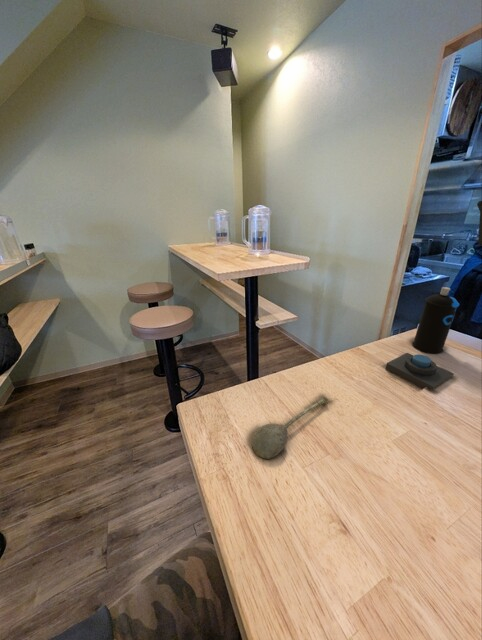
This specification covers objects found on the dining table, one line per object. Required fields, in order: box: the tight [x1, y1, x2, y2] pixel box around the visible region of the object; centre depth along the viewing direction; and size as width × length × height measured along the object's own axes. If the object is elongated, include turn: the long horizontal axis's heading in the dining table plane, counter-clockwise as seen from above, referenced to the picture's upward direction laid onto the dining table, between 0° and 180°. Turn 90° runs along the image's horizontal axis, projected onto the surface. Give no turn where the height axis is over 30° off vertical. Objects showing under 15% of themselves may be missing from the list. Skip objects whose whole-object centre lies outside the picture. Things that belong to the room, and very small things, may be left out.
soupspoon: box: [251, 396, 330, 460], centre depth 54 cm, size 22×3×7 cm
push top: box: [412, 353, 432, 368], centre depth 67 cm, size 4×4×2 cm
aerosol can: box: [411, 286, 460, 355], centre depth 77 cm, size 8×8×20 cm
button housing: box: [384, 352, 455, 392], centre depth 68 cm, size 12×10×4 cm
